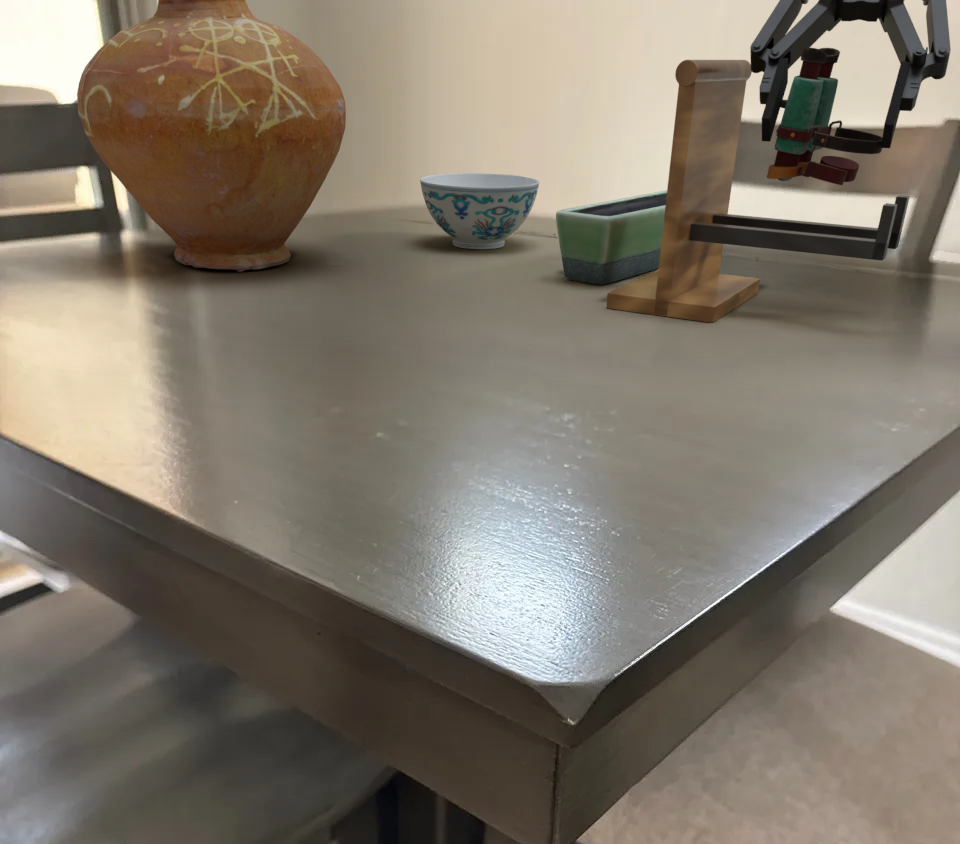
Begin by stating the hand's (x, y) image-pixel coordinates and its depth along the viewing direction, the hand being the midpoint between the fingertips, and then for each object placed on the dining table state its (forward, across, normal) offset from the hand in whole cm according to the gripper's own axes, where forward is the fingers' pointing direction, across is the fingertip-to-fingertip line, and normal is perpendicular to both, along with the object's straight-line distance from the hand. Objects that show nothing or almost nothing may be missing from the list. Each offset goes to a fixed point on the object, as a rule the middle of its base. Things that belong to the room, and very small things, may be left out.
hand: (825, 133), depth 85 cm
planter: (-2, +21, -25) cm, 32 cm away
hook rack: (+9, +5, -14) cm, 17 cm away
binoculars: (+1, 0, -5) cm, 5 cm away
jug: (+13, +64, -10) cm, 66 cm away
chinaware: (-4, +43, -28) cm, 52 cm away
